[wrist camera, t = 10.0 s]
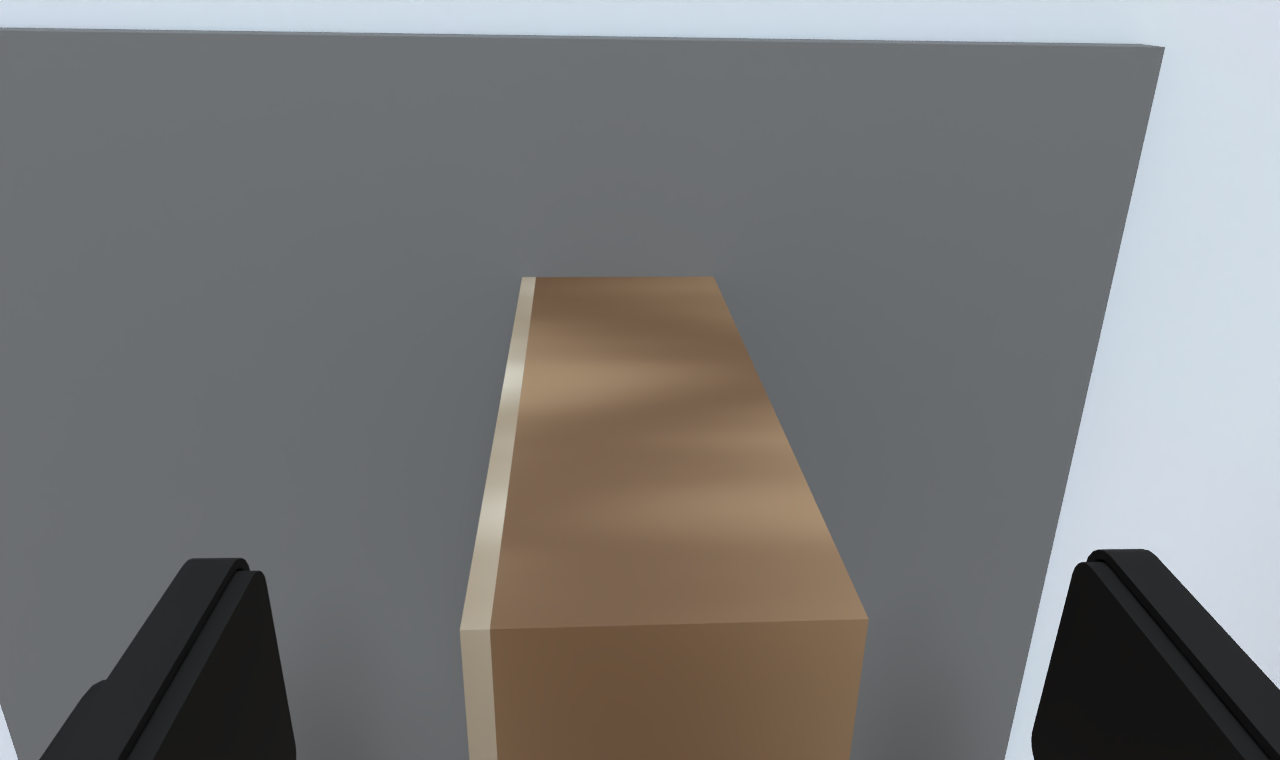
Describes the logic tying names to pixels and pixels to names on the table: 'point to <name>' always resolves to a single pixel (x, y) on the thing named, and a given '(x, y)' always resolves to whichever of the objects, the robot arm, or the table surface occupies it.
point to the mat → (484, 318)
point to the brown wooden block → (650, 546)
